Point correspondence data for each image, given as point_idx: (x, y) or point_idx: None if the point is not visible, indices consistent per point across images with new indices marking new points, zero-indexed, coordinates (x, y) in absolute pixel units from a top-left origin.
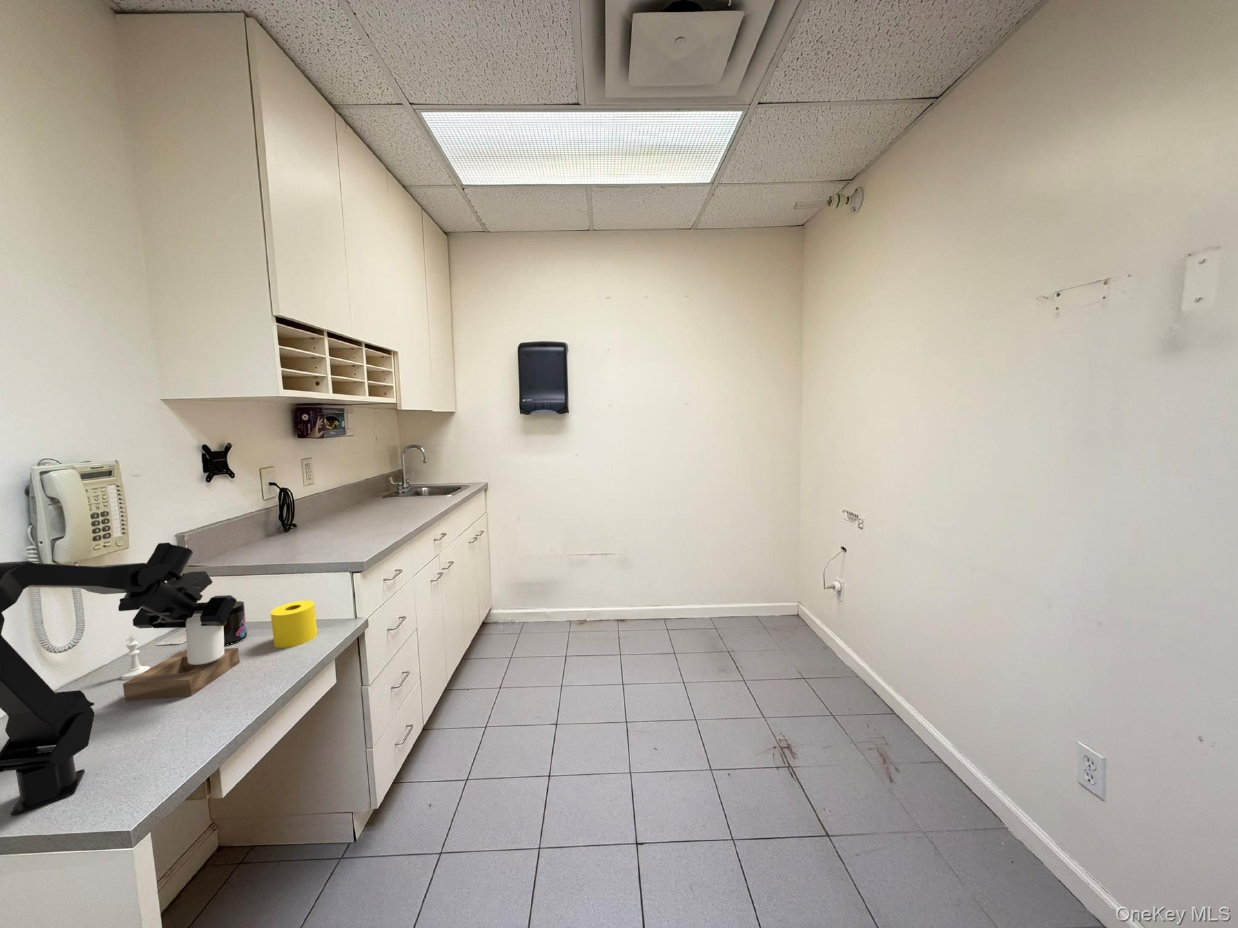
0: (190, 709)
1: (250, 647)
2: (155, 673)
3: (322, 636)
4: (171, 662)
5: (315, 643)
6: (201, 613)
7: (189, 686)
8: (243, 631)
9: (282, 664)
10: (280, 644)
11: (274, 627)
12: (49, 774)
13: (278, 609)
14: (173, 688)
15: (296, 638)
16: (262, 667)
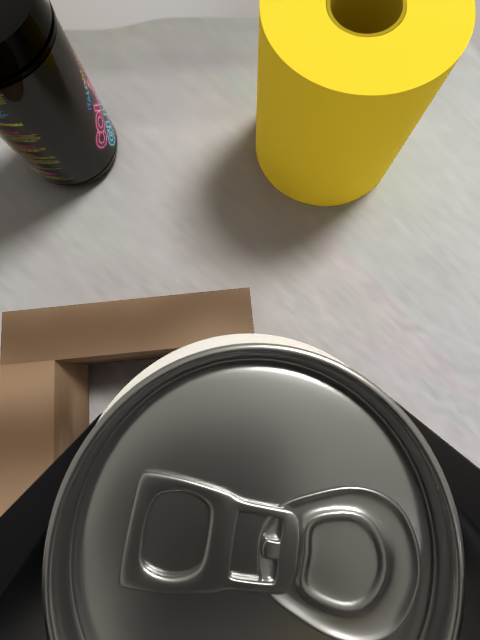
0: None
1: (194, 201)
2: None
3: (415, 128)
4: (49, 407)
5: (433, 178)
6: (250, 592)
7: None
8: (107, 122)
9: (436, 323)
10: (321, 198)
11: (313, 145)
12: None
13: (295, 25)
14: None
15: (381, 172)
16: (374, 342)
